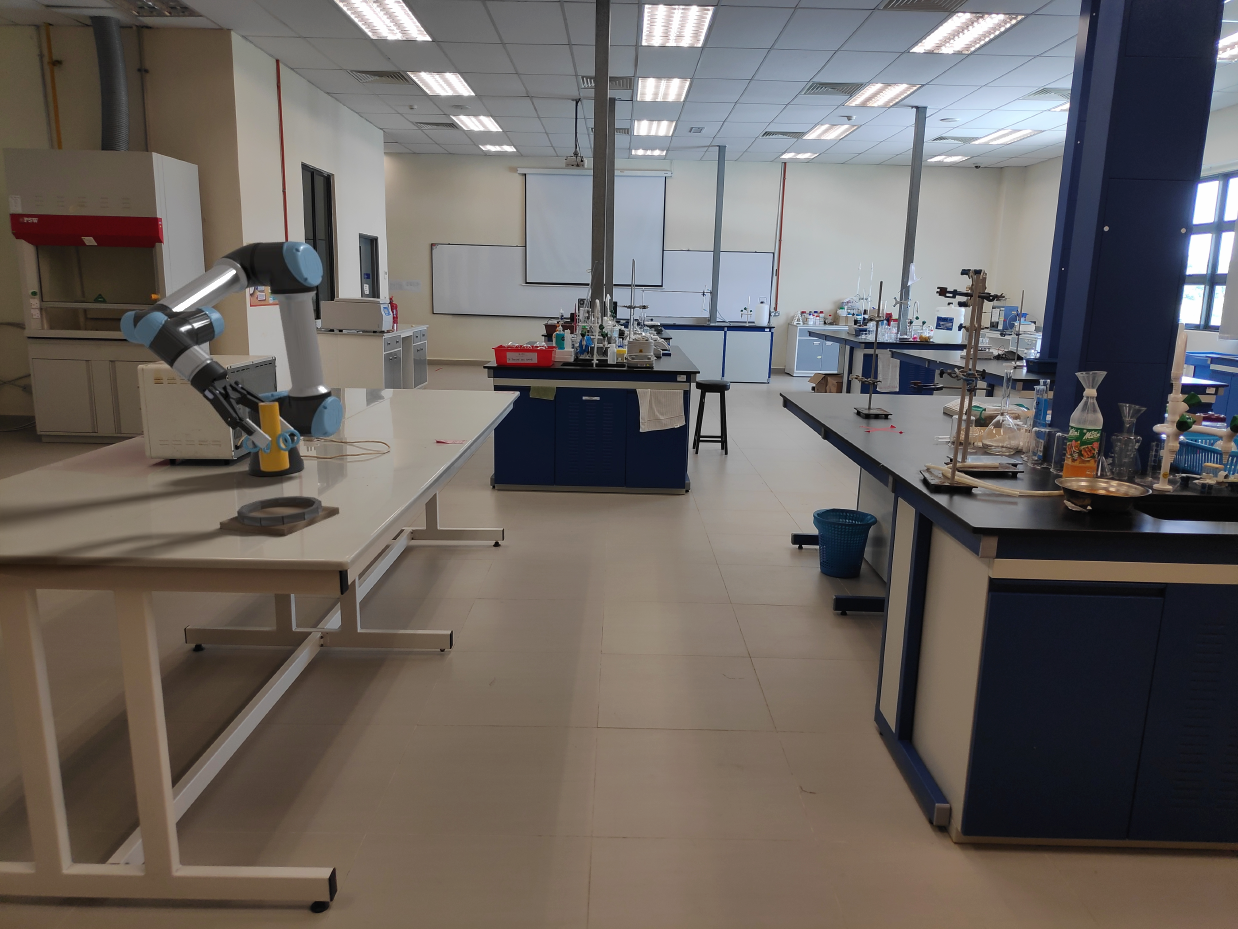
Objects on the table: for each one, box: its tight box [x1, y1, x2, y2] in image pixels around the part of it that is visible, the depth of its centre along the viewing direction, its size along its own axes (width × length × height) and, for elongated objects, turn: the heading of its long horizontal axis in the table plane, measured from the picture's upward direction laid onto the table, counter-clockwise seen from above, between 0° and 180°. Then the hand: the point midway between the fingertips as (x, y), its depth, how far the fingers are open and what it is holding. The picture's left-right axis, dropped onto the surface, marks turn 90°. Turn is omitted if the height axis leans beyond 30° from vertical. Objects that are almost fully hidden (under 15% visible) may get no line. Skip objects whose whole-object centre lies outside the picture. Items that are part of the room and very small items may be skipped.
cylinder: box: [242, 402, 301, 471], centre depth 177 cm, size 12×10×15 cm
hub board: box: [219, 495, 340, 537], centre depth 181 cm, size 18×18×4 cm
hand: (278, 438), depth 177 cm, fingers closed on cylinder, 12 cm apart
